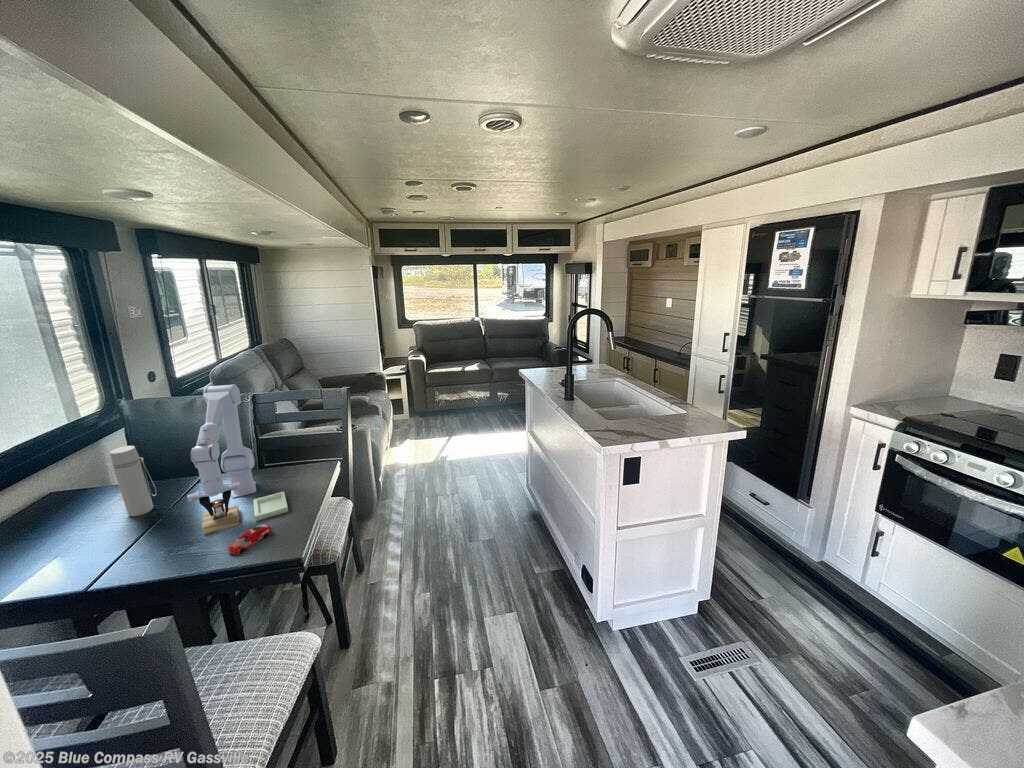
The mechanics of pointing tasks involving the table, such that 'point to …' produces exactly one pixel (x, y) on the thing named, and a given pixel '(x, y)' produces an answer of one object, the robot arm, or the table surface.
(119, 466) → the water bottle
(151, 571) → the table surface
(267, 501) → the tray
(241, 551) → the race car
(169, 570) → the table surface
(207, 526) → the socket block
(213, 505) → the pin
